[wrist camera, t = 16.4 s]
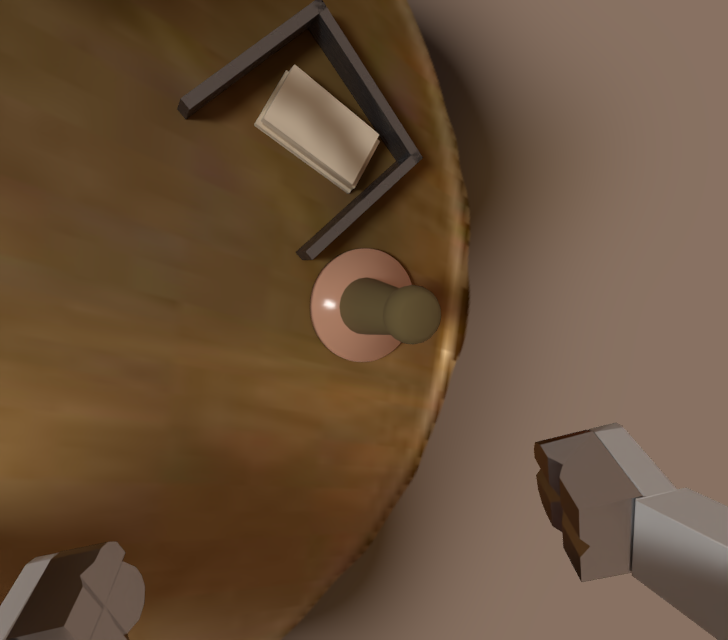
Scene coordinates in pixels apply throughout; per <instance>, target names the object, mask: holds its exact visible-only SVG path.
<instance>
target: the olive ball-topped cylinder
mask: <svg viewBox="0 0 728 640" xmlns="http://www.w3.org/2000/svg"><path fill="white" fill-rule="evenodd" d="M339 308H340V315H341V318H342V320H343V322H344V324H345V325H346V326H347V327H348V328H349V329H350V330H351V331H353V332H355V333H357V334H365V335H391V336H392V337H393V338H395V339H396V340H398V341H400V342H402V343H406V344H418V343H422V342H424V341H426V340H428V339H429V338H430V337H431V336H432V335H433V334H434V333H435V332H436V331H437V328H438V326H439V324H440V320H441V308H440V305H439V303H438V300H437V298H436V297H435V296H434V294H433V293H432V292H430V291H429V290H427V289H426V288H424V287H421V286H416V285H409V286H403V287H401V288H398V287H395V286H392V285H390V284H387V283H384V282H382V281H379V280H376V279H372V278H367V277H366V278H359V279H357V280H355V281H353V282H351V283H350V284H349V285H348V286H347V287H346V289H345V290H344V292H343V294H342V296H341V300H340V306H339Z"/></svg>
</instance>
